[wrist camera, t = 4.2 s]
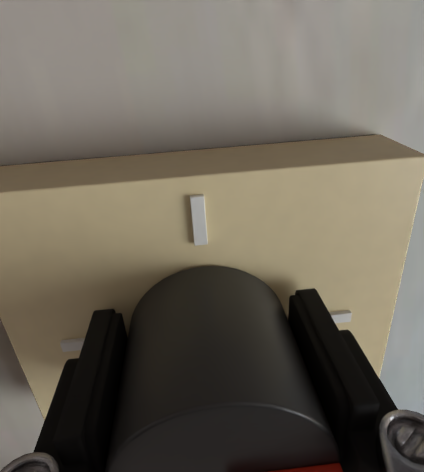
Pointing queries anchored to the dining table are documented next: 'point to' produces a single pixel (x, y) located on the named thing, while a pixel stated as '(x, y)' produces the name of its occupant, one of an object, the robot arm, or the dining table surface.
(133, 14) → the dining table surface
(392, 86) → the dining table surface
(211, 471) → the knob
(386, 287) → the panel
